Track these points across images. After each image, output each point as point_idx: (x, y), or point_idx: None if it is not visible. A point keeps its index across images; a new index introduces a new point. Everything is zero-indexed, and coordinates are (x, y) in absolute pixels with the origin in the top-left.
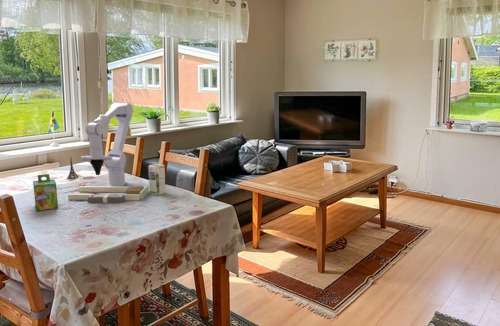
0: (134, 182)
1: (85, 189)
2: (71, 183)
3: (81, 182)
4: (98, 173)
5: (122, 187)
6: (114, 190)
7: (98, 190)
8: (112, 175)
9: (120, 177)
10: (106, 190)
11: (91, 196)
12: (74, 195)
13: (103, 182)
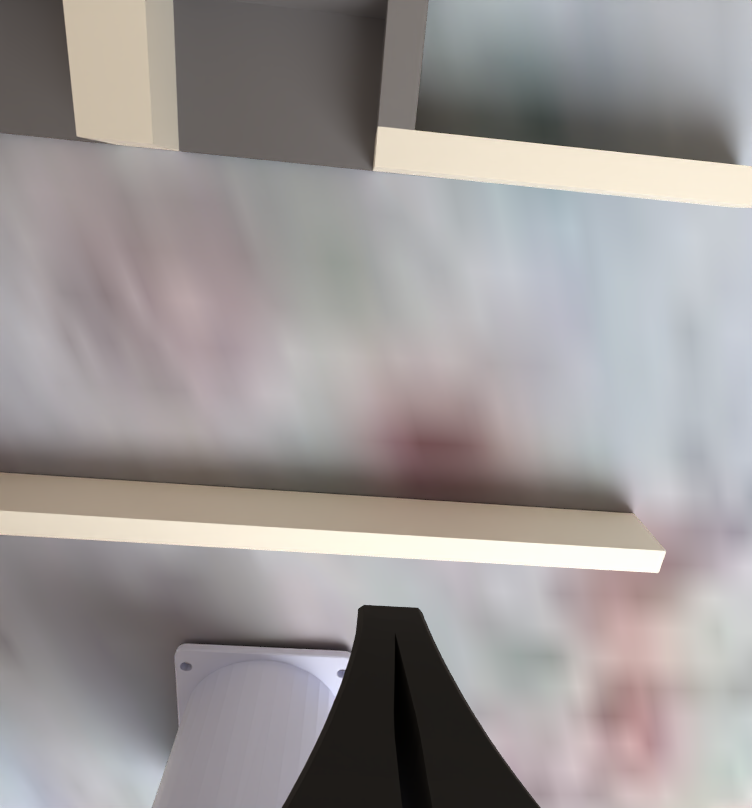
0: (112, 786)
1: (567, 525)
2: (743, 770)
3: (650, 794)
4: (359, 627)
5: (58, 511)
6: (192, 496)
7: (401, 508)
8: (252, 796)
9: (165, 781)
10: (298, 502)
11: (384, 44)
12: (683, 159)
13: None
